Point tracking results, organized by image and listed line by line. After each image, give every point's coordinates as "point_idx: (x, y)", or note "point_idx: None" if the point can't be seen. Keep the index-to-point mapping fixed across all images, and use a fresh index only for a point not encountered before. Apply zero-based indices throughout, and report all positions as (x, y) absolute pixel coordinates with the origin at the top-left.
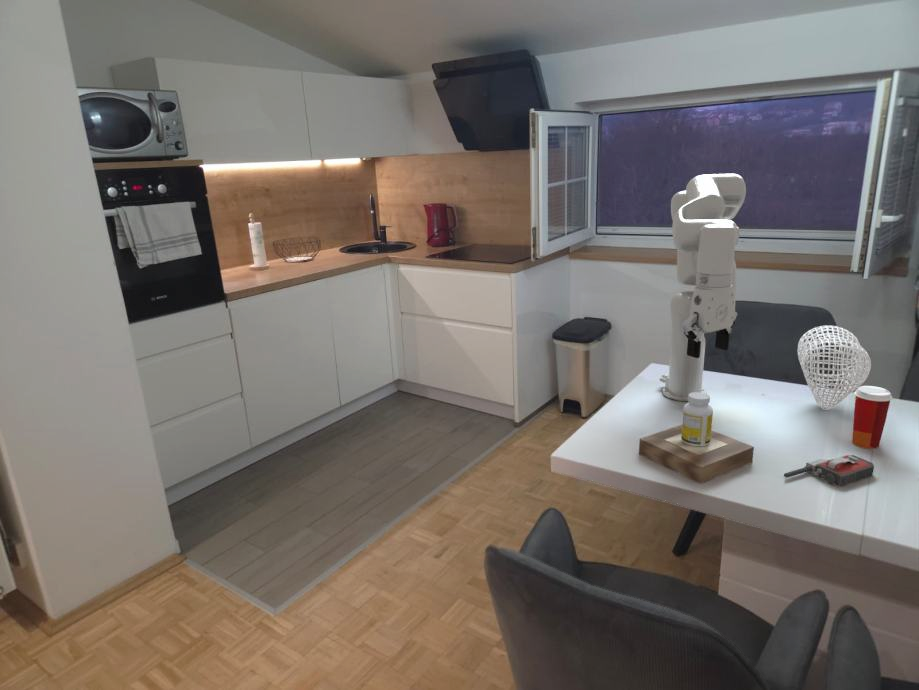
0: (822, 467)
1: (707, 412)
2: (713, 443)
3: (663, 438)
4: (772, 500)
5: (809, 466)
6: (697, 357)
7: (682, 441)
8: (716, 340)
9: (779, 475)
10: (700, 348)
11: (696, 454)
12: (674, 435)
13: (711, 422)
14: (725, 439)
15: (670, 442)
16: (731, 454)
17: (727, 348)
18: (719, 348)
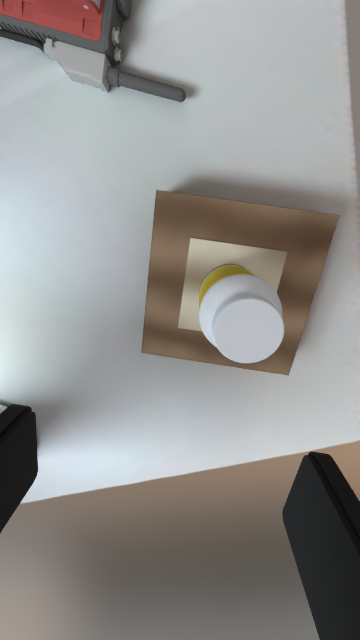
0: (110, 21)
1: (257, 280)
2: (209, 262)
3: None
4: (296, 65)
5: (110, 70)
6: (326, 458)
7: None
8: (4, 521)
9: (174, 121)
10: (344, 520)
11: (285, 258)
12: None
13: (229, 271)
14: (167, 256)
15: None
16: (231, 204)
17: (13, 410)
18: (32, 449)
